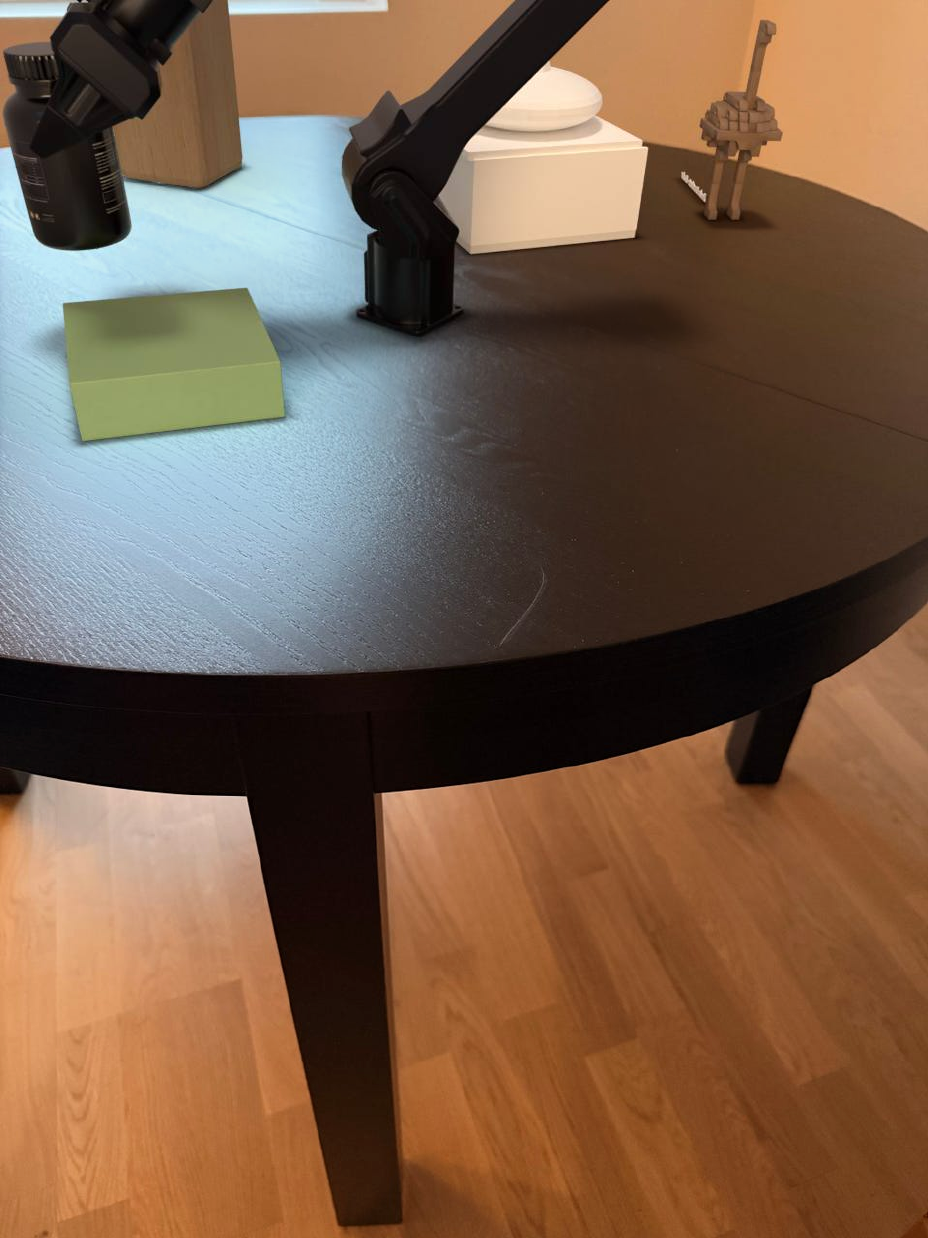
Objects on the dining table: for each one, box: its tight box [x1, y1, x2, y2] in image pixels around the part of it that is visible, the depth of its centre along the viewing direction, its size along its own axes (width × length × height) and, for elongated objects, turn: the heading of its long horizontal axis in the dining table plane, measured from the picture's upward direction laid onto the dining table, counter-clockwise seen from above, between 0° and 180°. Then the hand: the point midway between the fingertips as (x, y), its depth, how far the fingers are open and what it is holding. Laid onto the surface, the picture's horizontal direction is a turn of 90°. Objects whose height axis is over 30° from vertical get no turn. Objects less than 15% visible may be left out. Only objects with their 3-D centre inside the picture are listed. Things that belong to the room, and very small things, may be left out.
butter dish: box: [438, 59, 649, 255], centre depth 96 cm, size 18×18×16 cm
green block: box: [62, 287, 286, 442], centre depth 69 cm, size 13×13×4 cm
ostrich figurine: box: [680, 19, 784, 221], centre depth 102 cm, size 17×7×18 cm, turn 7°
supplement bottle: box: [2, 41, 133, 252], centre depth 68 cm, size 7×7×12 cm
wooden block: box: [113, 0, 244, 189], centre depth 102 cm, size 10×10×20 cm
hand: (42, 138), depth 67 cm, fingers closed on supplement bottle, 7 cm apart
